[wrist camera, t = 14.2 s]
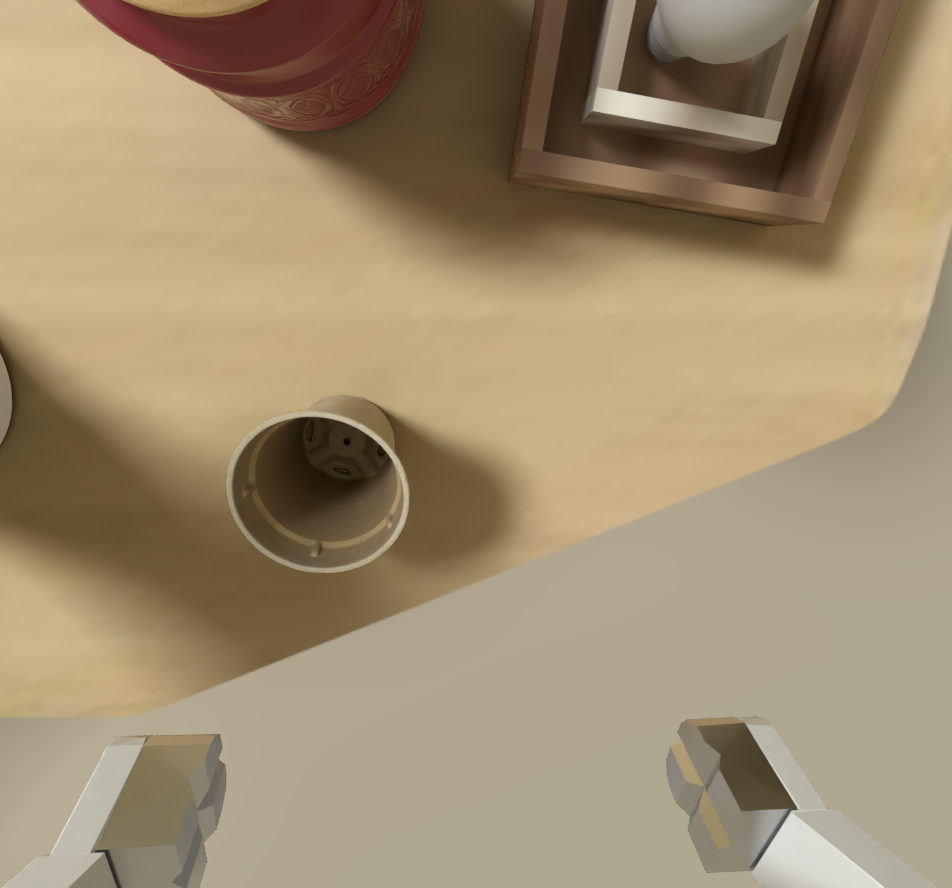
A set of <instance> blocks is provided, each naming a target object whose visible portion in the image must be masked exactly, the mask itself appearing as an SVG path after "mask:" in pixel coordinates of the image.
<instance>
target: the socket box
mask: <svg viewBox="0 0 952 888" xmlns="http://www.w3.org/2000/svg"><path fill="white" fill-rule="evenodd" d="M901 1H902V0H814V1H813V3H812V4H811V6H810V7H809V9H808V10H807V12H806V13H805V14H804V16H803V17H802V18H801V19H800V20H799V21H798V22H797V23H796V25H795V26H794V27H793V28H792V29H791V30H790V31H789V32H788V34H787V35H785V36H784V37H783V38H782V39H780V40H779V41H778V42H777V43H775V44H774V45H773V46H771V47H770V48H768V49H766V50H765V51H763V52H761V53H759V54H757V55H756V56H754V57H752V58H749V59H746V60H743V61H739V62H735V63H725V64H710V63H704V62H700V61H698V60H696V59H693V58H691V57H689V56H688V57H683V58H681V59H679V60H677V61H675V62H671V63H662V62H659V61H657V60H656V59H654V58H653V57H652V56H651V55H650V53H649V51H648V49H647V46H646V42H645V31H646V27H647V24H648V21H649V19H650V18H651V16H652V14H653V12H654V11H655V7H656V4H657V0H536V2H535V9H534V15H533V22H532V28H531V35H530V42H529V48H528V55H527V61H526V68H525V75H524V81H523V88H522V94H521V101H520V108H519V114H518V121H517V127H516V134H515V141H514V147H513V154H512V160H511V167H510V174H509V180H508V182H512V183H518V184H524V185H530V186H536V187H542V188H548V189H554V190H560V191H566V192H571V193H577V194H583V195H589V196H595V197H601V198H607V199H613V200H619V201H625V202H631V203H637V204H642V205H648V206H654V207H660V208H666V209H672V210H678V211H684V212H690V213H696V214H702V215H708V216H714V217H719V218H725V219H731V220H737V221H743V222H749V223H755V224H761V225H767V226H780V225H799V224H817V223H825V220H826V217H827V214H828V211H829V209H830V206H831V203H832V200H833V197H834V194H835V191H836V188H837V186H838V183H839V180H840V177H841V174H842V171H843V168H844V165H845V162H846V160H847V157H848V154H849V151H850V148H851V145H852V142H853V139H854V137H855V134H856V131H857V128H858V125H859V122H860V119H861V116H862V113H863V111H864V108H865V105H866V102H867V99H868V96H869V93H870V90H871V88H872V85H873V82H874V79H875V76H876V73H877V70H878V67H879V64H880V62H881V59H882V56H883V53H884V50H885V47H886V44H887V41H888V39H889V36H890V33H891V30H892V27H893V24H894V21H895V18H896V15H897V13H898V10H899V7H900V4H901Z"/></svg>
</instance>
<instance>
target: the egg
mask: <svg viewBox="0 0 952 888" xmlns="http://www.w3.org/2000/svg"><path fill="white" fill-rule="evenodd" d="M813 1H814V0H657V4H656V7H655V11H654V12H653V14H652V16H651V18H650V19H649V21H648V24H647V27H646V31H645V42H646V46H647V49H648V51H649V53H650V55H651V56H652V57H653V58H654V59H656V60H657V61H659V62H662V63H671V62H675V61H677V60H679V59H681V58H683V57H688V56H689V57H691V58H693V59H696V60H698V61H700V62H704V63H710V64H725V63H735V62H739V61H743V60H746V59H749V58H752V57H754V56H756V55H757V54H759V53H761V52H763V51H765V50H766V49H768V48H770V47H771V46H773V45H774V44H775V43H777V42H778V41H779V40H780V39H782V38H783V37H784V36H785V35H787V34H788V32H789V31H790V30H791V29H792V28H793V27H794V26H795V25H796V23H797V22H798V21H799V20H800V19H801V18H802V17H803V16H804V14H805V13H806V12H807V10H808V9H809V7H810V6H811V4H812V3H813Z"/></svg>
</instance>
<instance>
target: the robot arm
mask: <svg viewBox="0 0 952 888" xmlns="http://www.w3.org/2000/svg"><path fill="white" fill-rule="evenodd" d="M11 412H12V392H11V385H10V380H9V376H8V372H7V369H6V366H5V363H4V361H3V358H2V356H1V354H0V444H1V442H2V440H3V438H4V437H5V434H6V432H7V429H8V426H9V423H10V418H11ZM678 734H679V736H680V738H681V740H680V741H678V742H677V743H676V744H674V745H673V746H672V747H670V750H669V754H668V756H667V759H666V766H667V777H668V781H669V786H670V789H671V791H672V794H673V796H674V799H675V801H676V803H677V804H678V805H679V806H680V807H681V808H682V809H683V810H684V811H685V812H686V813H687V814H688V815H689V816H690V819H689V826H688V832H689V834H690V836H691V839H692V841H693V844H694V846H695V848H696V851H697V852H698V855H699V857H700V860H701V862H702V864H703V866H704V869H705V871H706V872H707V873H711V872H712V873H713V872H734V871H753V872H752V873H751V874H752V875H753V876H754V877H755V878H756V880H757V881H758V882H759V883H760V884H761V885H762V886H763V887H764V888H936V887H935V886H934V885H933V884H931V883H930V882H929V881H928V880H926V879H925V878H924V877H922V876H921V875H920V874H919V873H917V872H916V871H915V870H913V869H912V868H911V867H910V866H908V865H907V864H906V863H904V862H903V861H902V860H900V859H899V858H898V857H897V856H895V855H894V854H893V853H891V852H890V851H889V850H888V849H886V848H885V847H884V846H882V845H881V844H880V843H879V842H877V841H876V840H875V839H874V838H872V837H871V836H870V835H868V834H867V833H866V832H865V831H863V830H862V829H861V828H859V827H858V826H857V825H856V824H854V823H853V822H852V821H850V820H849V819H848V818H846V817H845V816H844V815H843V814H841V813H840V812H838V811H837V810H836V809H835V808H826V806H825V805H824V804H823V802H822V800H821V799H820V797H819V796H818V794H817V793H816V791H815V790H814V788H813V787H812V785H811V784H810V782H809V781H808V779H807V778H806V776H805V775H804V773H803V772H802V770H801V769H800V767H799V766H798V764H797V763H796V761H795V760H794V758H793V757H792V755H791V754H790V752H789V751H788V749H787V748H786V746H785V745H784V743H783V742H782V740H781V739H780V737H779V736H778V734H777V733H776V731H775V730H774V728H773V727H772V725H771V724H770V723H769V722H768V721H767V720H765V719H764V718H762V717H743V718H734V717H725V718H706V719H688V720H685V721H684V722H682V723H681V725H680V727H679V729H678ZM221 750H222V743H221V738H220V734H207V735H206V734H205V735H160V736H159V735H156V736H154V735H142V736H140V735H139V736H116V738H115V739H114V740H113V741H112V742H111V743H110V744H109V745H108V747H107V748H106V749H105V751H104V753H103V755H102V757H101V759H100V761H99V763H98V765H97V766H96V768H95V770H94V772H93V774H92V776H91V778H90V780H89V782H88V784H87V785H86V787H85V789H84V791H83V793H82V795H81V797H80V799H79V801H78V802H77V804H76V806H75V808H74V810H73V812H72V814H71V816H70V818H69V820H68V821H67V823H66V825H65V827H64V829H63V831H62V833H61V835H60V837H59V839H58V841H57V842H56V844H55V846H54V848H53V850H52V852H51V854H50V855H42V856H38V857H36V858H35V859H34V860H33V861H32V862H31V863H30V864H29V865H27V866H26V867H25V868H24V869H23V870H22V871H21V872H20V873H18V874H17V875H16V876H15V877H14V878H13V879H12V880H10V881H9V882H8V883H7V884H6V885H5V886H4V887H3V888H199V887H200V884H201V880H202V877H203V874H204V870H205V867H206V863H207V857H206V852H205V846H204V842H205V841H206V840H207V839H208V838H209V836H210V835H211V834H212V833H213V832H214V831H215V830H216V829H217V826H218V822H219V818H220V815H221V811H222V806H223V801H224V795H225V790H226V769H225V764H224V763H223V762H221V761H220V760H219V756H220V753H221Z"/></svg>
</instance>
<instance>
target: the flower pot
mask: <svg viewBox="0 0 952 888" xmlns="http://www.w3.org/2000/svg"><path fill="white" fill-rule="evenodd" d="M310 423H313V424H314V429H313V435H312V441H309V440H308V439H307V434H306V433H307V427H308V425H309V424H310ZM344 439H349V441H350V444H348V445H346V444H345V443H344ZM379 446H382V448H383V449H384V450H385V453H384V455H383V456H380V455H379V454H378V450H379ZM333 468H343V469H344V470H348V471H349V474H344V473H338V472H336V471H335V470H334V469H333ZM226 477H227V478H226V493H227V500H228V504H229V508H230V511H231V514H232V516H233V518H234V520H235V522H236V524H237V525H238V528H239V529H240V531H241V532H242V533H243V534H244V536H245V537H246V538H247V539H248V541H249V542H251V543H252V544H253V545H254V546H255V547H256V548H257V549H258V550H259V551H260V552H261V553H263V554H265V555H266V556H267V557H269V558H271V559H272V560H274V561H276V562H278V563H280V564H282V565H285V566H287V567H290V568H293V569H296V570H300V571H305V572H311V573H312V572H315V573H337V572H344V571H347V570H352V569H355V568H358V567H361V566H363V565H365V564H367V563H370V562H371V561H373V560H375V559H376V558H378V557H379V556H380V555H382V554H383V553H384V552H385V551H387V550H388V549H389V548H390V547H391V545H392V544H393V543H394V542H395V541H396V539H397V538H398V537H399V534H400V533H401V531H402V529H403V527H404V525H405V522H406V520H407V516H408V512H409V505H410V490H409V483H408V478H407V475H406V472H405V469H404V467H403V464H402V463H401V461H400V459H399V457H398V455H397V454H396V452H395V441H394V433H393V429H392V427H391V425H390V423H389V421H388V419H387V418H386V416H385V415H384V414H383V413H382V412H381V410H380V409H379V408H378V407H376V406H375V405H374V404H372V403H370V402H369V401H367V400H364V399H362V398H359V397H355V396H348V395H339V396H333V397H329V398H326V399H324V400H321V401H319V402H318V403H316V404H315V405H314V406H312V407H310V408H309V409H307V410H298V411H292V412H288V413H284V414H281V415H278V416H275V417H273V418H271V419H268V420H266V421H265V422H263V423H261V424H260V425H258V426H257V427H256V428H254V429H253V430H252V431H251V432H249V433H248V434H247V436H246V437H244V438H243V439H242V440H241V442H240V443H239V445H238V446H237V448H236V450H235V451H234V453H233V455H232V457H231V460H230V462H229V466H228V471H227V475H226Z"/></svg>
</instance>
